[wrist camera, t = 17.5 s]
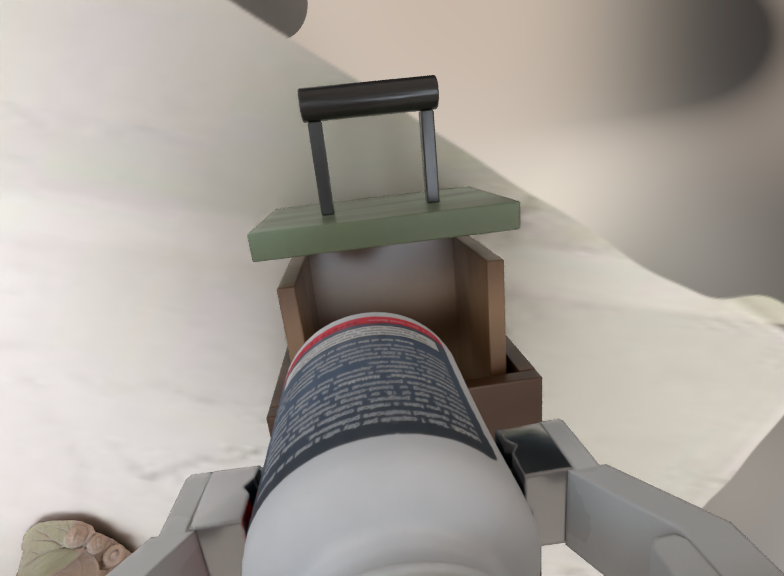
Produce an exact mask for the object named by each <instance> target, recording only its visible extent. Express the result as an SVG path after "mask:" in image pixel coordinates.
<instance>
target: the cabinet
mask: <svg viewBox="0 0 784 576" xmlns="http://www.w3.org/2000/svg"><path fill="white" fill-rule="evenodd" d="M290 365H291V360H290V355H289V350H288V346H287V350H286V353H285V357H284V360H283V364H282V367H281V370H280V374H279V377H278V381H277V384H276V388H275V391H274V394H273V398H272V401H271V405H270V408H269V412H268V415H267V423H268V427H269V432H270V436H271V435H272V431H273V427H274V423H275V419H276V415H277V411H278V407H279V403H280V399H281V395H282V391H283V386H284V383H285V380H286V376H287V373H288V370H289V367H290ZM464 381H465V384H466V386H467V388H468V390H469V392H470V394H471V396H472V398H473V400H474V402H475V404H476V407H477V409H478V411H479V413H480V415H481V417H482V419H483V421H484V423H485V425H486V427H487V428H488V430H489V432H490V434H491V436H492V438H493V440H494V442H495V431H496V430H498V429H504V428H510V427H517V426H523V425H529V424H536V423H538V422H542V377H541V376H540V374H539V373H538V372H537V371H536V370H535V368H534V367H533V366H532V365H531V364H530V362H529V361H528V360H527V359H526V358H525V357H524V355H523V354H522V353H521V352H520V351H519V350H518V349H517V347H516V346H515V345H514V344H513V343H512V342H511V340H510V339H509V338H508V337H507V336H506V374H503V375H496V376H489V377H482V378H476V379H469V380H464ZM540 576H541V571H540Z"/></svg>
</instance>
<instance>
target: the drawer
mask: <svg viewBox="0 0 784 576" xmlns="http://www.w3.org/2000/svg"><path fill="white" fill-rule="evenodd" d="M298 100H299V107H300V112H301V117H302V121H303V122H304V123H308V129H309V136H310V143H311V149H312V156H313V162H314V169H315V175H316V182H317V188H318V195H319V201H320V204H315V205H306V206H298V207H289V208H280V209H276V210H275V211H273V212H272V213H271V214H270V215H269V216H268V217H267V218H265V219H264V220H263V221H262V222H261V223H260V224H259V225H257V226H256V227H255V228H254V229H253V230H252V231H251V232H249V233H248V234H247V237H248V242H249V246H250V251H251V256H252V260H253V262H258V261H267V260H275V259H283V258H291V257H292V259H291V261H290V263H289V265H288V267H287V269H286V272H285V274H284V276H283V278H282V280H281V282H280V284H279V286H278V288H277V294H278V299H279V304H280V309H281V314H282V319H283V324H284V329H285V334H286V340H287V345H288V350H289V355H290V360H291V363H292V361H293V359H294V357H295V356H296V354H297V353H298V351H299V350H300V349H301V347H302V346H303V345H304V344H305V342H306V341H307V340H308V339H309V338H310V337H312V336H313V335H314V334H315V333H316V332H318V331H319V330H320V329H322V328H323V327H325V326H327V325H329V324H330V323H332V322H334V321H337V320H339V319H342V318H345V317H348V316H351V315H355V314H360V313H369V312H384V313H392V314H398V315H401V316H405V317H408V318H410V319H413V320H415V321H417V322H419V323H421V324H422V325H424V326H426V327H427V328H428V329H430V330H431V331H432V332H433V333H435V334H436V335H437V336H438V337H439V338H440V339H441V341H442V342H443V343H444V344H445V345H446V347H447V348H448V349H449V351H450V352H451V354H452V356H453V358H454V360H455V362H456V364H457V366H458V369H459V371H460V373H461V375H462V377H463V379H464V380H469V379H476V378H482V377H489V376H496V375H503V374H506V335H505V294H504V260H503V259H501V258H500V257H499V256H497V255H496V254H494V253H493V252H491V251H490V250H489V249H487V248H486V247H484V246H483V245H481V244H480V243H479V242H477V241H476V240H474V239H473V238H471V237H470V236H469V235H476V234H484V233H492V232H500V231H508V230H516V229H520V202H519V201H516V200H513V199H509V198H506V197H503V196H499V195H496V194H493V193H489V192H486V191H483V190H480V189H476V188H473V187H470V186H469V187H460V188H452V189H443V190H439V184H438V170H437V155H436V140H435V126H434V111H433V110H434V109H437V107H438V101H439V91H438V82H437V79H436V76H435V75H431V76H430V75H429V76H420V77H410V78H400V79H389V80H380V81H369V82H359V83H349V84H339V85H329V86H318V87H308V88H299V89H298ZM415 111H420V112H419V124H420V137H421V150H422V163H423V175H424V188H425V192H418V193H409V194H400V195H392V196H383V197H375V198H366V199H358V200H349V201H340V202H333V197H332V190H331V183H330V176H329V169H328V162H327V155H326V148H325V141H324V134H323V127H322V123H321V121H328V120H338V119H347V118H357V117H367V116H376V115H386V114H395V113H405V112H415Z"/></svg>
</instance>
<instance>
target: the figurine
mask: <svg viewBox="0 0 784 576" xmlns="http://www.w3.org/2000/svg"><path fill="white" fill-rule="evenodd" d="M22 551H23V552H22V558H21V562H20V567H19V569H18V572H17V575H16V576H106V575H107V574H108V573H109V572H111V571H112V570H113V569H114V568H115V567H116V566H118V565H119V564H120V563H121V562H122V561H124V560H125V559H126V558H127V557H128V556H130V555H131V554H132V553H131V552H129V550H127V549H125V548H124V546H123V545H121V544H119V543H118V542H117V541H115V540H114V539H112V538H111V539H110V538H109V537H107V536H105V535H104V534H100V533H97V532H95V530H94V528H93V526H91V525H89V524H87V523H84V522H82V521H75V520H68V521H66V520H63V521H59V520H56V521H46V522H40V523H38V524H36V525H34V526H33V527H31V528H30V529H29V530H28V531H27V533H26V534H25V535H24V537H23V542H22Z"/></svg>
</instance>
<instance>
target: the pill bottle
mask: <svg viewBox="0 0 784 576" xmlns="http://www.w3.org/2000/svg"><path fill="white" fill-rule="evenodd" d="M540 571H541V543H540V538H539V533H538V530H537V526H536V523H535V520H534V517H533V514H532V512H531V509H530V507H529V505H528V503H527V501H526V499H525V497H524V495H523V493H522V491H521V489H520V487H519V485H518V484H517V482H516V480H515V478H514V476H513V475H512V473H511V471H510V469H509V467H508V466H507V464H506V462H505V460H504V458H503V456H502V455H501V453H500V451H499V449H498V447H497V445H496V444H495V442H494V440H493V438H492V436H491V434H490V432H489V430H488V428H487V427H486V425H485V423H484V421H483V419H482V417H481V415H480V413H479V411H478V409H477V407H476V404H475V402H474V400H473V398H472V396H471V394H470V392H469V390H468V388H467V386H466V384H465V381H464V379H463V377H462V375H461V373H460V371H459V369H458V366H457V364H456V362H455V360H454V358H453V356H452V354H451V352H450V351H449V349H448V348H447V347H446V345H445V344H444V343H443V342H442V341H441V339H440V338H439V337H438V336H437V335H436V334H435V333H433V332H432V331H431V330H430V329H428V328H427V327H426V326H424V325H422V324H421V323H419V322H417V321H415V320H413V319H410V318H408V317H405V316H401V315H398V314H392V313H384V312H369V313H360V314H355V315H351V316H348V317H345V318H342V319H339V320H337V321H334V322H332V323H330V324H329V325H327V326H325V327H323V328H322V329H320V330H319V331H318V332H316V333H315V334H314V335H313V336H312V337H310V338H309V339H308V340H307V341H306V342H305V344H304V345H303V346H302V347H301V349H300V350H299V351H298V353H297V354H296V356H295V357H294V359H293V361H292V363H291V365H290V367H289V370H288V373H287V376H286V380H285V383H284V386H283V391H282V395H281V399H280V403H279V407H278V411H277V415H276V419H275V423H274V427H273V431H272V435H271V439H270V443H269V447H268V451H267V455H266V459H265V463H264V467H263V470H262V475H261V479H260V483H259V487H258V491H257V495H256V499H255V503H254V506H253V510H252V514H251V519H250V523H249V526H248V531H247V537H246V542H245V547H244V555H243V560H242V576H540Z"/></svg>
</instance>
